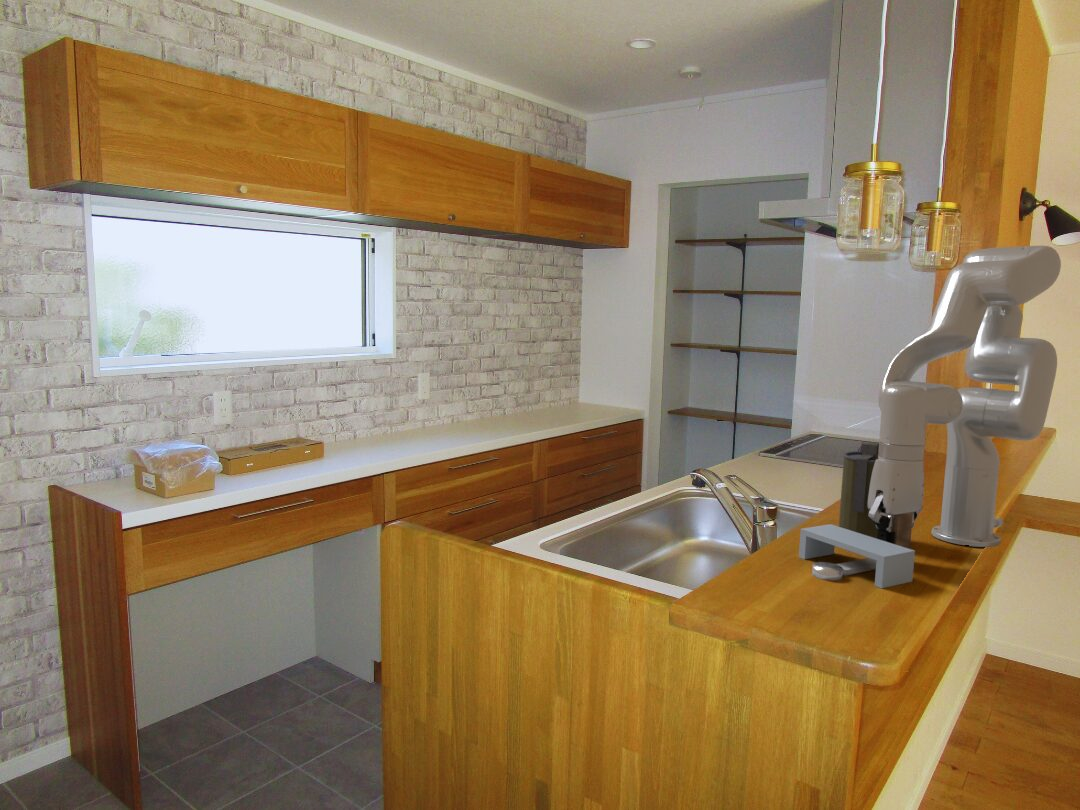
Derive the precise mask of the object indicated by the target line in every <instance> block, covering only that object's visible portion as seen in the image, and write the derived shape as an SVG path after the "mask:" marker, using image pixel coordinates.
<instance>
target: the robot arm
mask: <svg viewBox="0 0 1080 810" xmlns="http://www.w3.org/2000/svg"><path fill="white" fill-rule="evenodd" d="M1061 267H1062V262H1061V257H1060V254H1059V253H1058V251H1057V250H1056V249H1055V248H1053V247H1051V246H1049V245H1025V246H1005V247H1004V246H1003V247H1001V246H1000V247H999V246H998V247H989V248H981V249H977V250H974V251H971V252H969V253H968V254H966V256H965V257H963V260H962V263H961V264H958V265H955V266H954V267H953V268H952V269H951V270H950V271H949V272H948V274H947V276H946V279H945V281H944V284H943V286H942V289H941V292H940V295H939V297H938V299H937V303H936V306H935V308H934V310H933V315H931V319H930V321H929V325H928V326H927V329H926V330H925V331H924V332H922V333H921V334H920V335H918V336H916V337H915V338H914V339H912V340H911V341H910V342H909V343H907V344H906V345H905V346H904V347H903V348H902V349H901V350H900V351H899V352H897V354H896V355H895V356H894V357H893V358H892V359H891V362H890V363H889V365H888V367H887V370H886V373H885V375H884V378H883V380H882V382H881V386H880V389H879V392H878V393H879V394H878V400H877V401H878V407H879V409H880V411H881V413H880V426H879V441H878V443H879V450H878V459H876V461H875V464H874V467H873V471H872V476H871V481H870V488H869V495H868V509H869V510H870V512H869V514H868V516H869V517H870V518H871V519H872V520H874V522H875V524H876V528H878V533H877V539H879V540H882V541H886V542H889V543H892V544H894V537H895V532H893V531H892V530H893V526H894V521H895V515H898V514H902V513H908V512H913V517H912V529H913V528H914V527H915V520H916V519H917V517H918V516H919V514H920V513H921V512H922V511H923V509H924V506H923V502H924V493H925V492H924V491H925V489H924V488H925V474H924V473H925V471H924V470H925V469H924V457H925V456H924V454H925V443H926V432H927V430H926V429H927V424H931V425H945V424H946V432H947V441H946V442H947V447H946V457H945V458H946V459H945V469H944V470H945V471H944V482H943V490H942V491H943V493H942V506H941V516H940V525H935V526H933V527H931V535H932V536H933V537H934V538H936V539H938V540H941V541H943V542H948V543H950V544H951V543H952V544H956V545H960V546H965V545H969V546H968V547H974V548H976V547H977V548H992V547H997V546H999V545H1001V543H1002V539H1001V537H1000V535H998V534H996V533H994V529H995V528H998V527H1002V526H1003V524H1004V520H1003V519H1002V517H995V513H996V501H997V494H998V493H997V492H998V491H997V490H998V482H999V470H1000V453H999V451H998V449H997V447H996V445H995V444H994V442H993V441H992V439H991V437H992V438H999V439H1009V440H1016V441H1033V440H1035V439H1036V438H1037V437H1038V436H1040V434H1041V433H1042V431H1043V428H1044V427H1045V423H1046V420H1047V419H1046V418H1047V415H1048V412H1049V406H1050V402H1051V397H1052V392H1053V388H1054V384H1055V380H1056V374H1057V368H1058V354H1057V351H1056V348H1055V347H1054V345H1053V344H1052V343H1051V342H1050V341H1048V340H1046V339H1042V338H1036V337H1020V334H1021V329H1022V324H1023V321H1024V319H1023V318H1024V315H1023V311H1022V309H1021V308H1020V305H1024V304H1026V303H1028V302H1030V301H1031V300H1034V299H1035V298H1037V296H1040V295H1041V294H1042V293H1044V292H1046V291H1048V289H1050V288H1051V287H1052V286H1053V285H1054V284H1055V282H1056V281H1057V279H1058V278H1059V275H1060V272H1061V269H1062V268H1061ZM966 349H967V351H966V354H965V359H964V372H965V375H966V376H967V378H969V379H971V380H973V381H976V382H980V383H985V384H987V383H988V384H996V385H997V384H998V385H999V384H1000V385H1010V386H1018V387H1019V388H1018V390H1017V391H1016V390H1015V391H1014V390H1005V389H998V388H989V387H988V388H986V387H985V388H984V387H976V386H975V387H970V386H969V387H962V388H959V389H956V387H953V386H951V385H947V384H944V383H934V382H932V383H931V382H925V381H924V382H923V381H914V380H913V381H912V377H914V375H915V374H916V373H917V372H918V371H919V370H920V369H922V367H924V366H925V365H927V364H929V363H931V362H933V361H935V360H939V359H942V358H943V357H947V356H950V355H953V354H956V353H959V352H961V351H964V350H966ZM884 509H885V510H886V511H885V512H886V513H885V512H884ZM884 516H886V517H888V522H887V521H886V519H885V518H884ZM912 529H911V532H912ZM911 542H912V541H911ZM911 542H910V544H911Z"/></svg>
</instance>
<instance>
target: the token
mask: <svg viewBox="0 0 1080 810" xmlns="http://www.w3.org/2000/svg"><path fill="white" fill-rule="evenodd" d="M836 564H837V563H833V562H827V561H826V562H825V561H817V562H813V564H812V570H811V575H812V576H813V577H814V578H817V579H820V580H823V581H830V582H831V581H832V582H835V581H840V580H843V576H844V575H843V568H842V567H841V566H839V565H836Z"/></svg>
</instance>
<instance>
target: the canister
mask: <svg viewBox="0 0 1080 810" xmlns="http://www.w3.org/2000/svg"><path fill="white" fill-rule="evenodd" d="M878 450H879V442H877V441H866V442H865V441H864V442H861V445H860V447H859V448H858V449H857V451H847V452H844V453H843V454H842V456H843V463H842V477H841V478H842V480H841V491H840V503H839V505H840V506H839V519H838V527H841V528H844V529H847V530H851V531H854V532H857V533H860V534H863V535H867V536H870V537H873V538H876V539H877V533H878V528H876V524H875V522H874V520H872V519H871V518H870V517H869V516H868V514H869V512H870V510H869V509H868V495H869V488H870V481H871V476H872V471H873V467H874V464H875V461H876V459H878Z"/></svg>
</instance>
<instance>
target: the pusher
mask: <svg viewBox="0 0 1080 810" xmlns="http://www.w3.org/2000/svg"><path fill="white" fill-rule="evenodd" d="M885 511H886V510H885V509H884V512H885ZM885 513H886V512H885ZM912 517H913V512H908V513H902V514H898V515H895V521H894V526H893V530H892V531H893V532H895V537H894V544H895V545H898V546H902V547H905V548H908V549H911V543H910V542H912V531H911V529H913V528H912ZM884 518H885V519H886V521H887V522H888V517H886V516H884ZM876 561H877V560H875V559H872V558H869V557H865V558H862V559H856V560H850V561H845V562H841V563H840V562H839V563H835V564H836V565H839V566H841V567H842V568H843V575H842V576H845V577H847V576H850V575H855V574H859V573H864V572H868V571H869V572H870V571H873V570H876Z"/></svg>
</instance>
